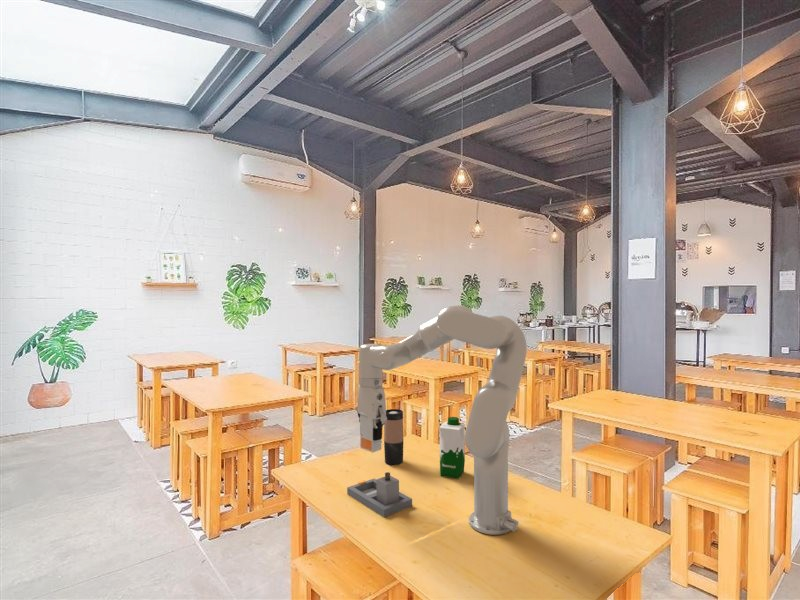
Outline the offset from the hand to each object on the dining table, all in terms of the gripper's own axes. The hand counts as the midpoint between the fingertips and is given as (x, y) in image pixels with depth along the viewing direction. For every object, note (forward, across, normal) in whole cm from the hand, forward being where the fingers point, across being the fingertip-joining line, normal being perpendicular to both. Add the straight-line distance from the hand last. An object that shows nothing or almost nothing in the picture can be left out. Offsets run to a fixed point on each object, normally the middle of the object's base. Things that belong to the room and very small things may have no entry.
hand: (370, 436), depth 147 cm
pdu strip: (+20, -4, 0) cm, 20 cm away
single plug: (+19, -9, 0) cm, 21 cm away
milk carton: (+20, -4, -34) cm, 39 cm away
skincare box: (+4, 0, 0) cm, 4 cm away
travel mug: (+20, +19, -25) cm, 37 cm away
